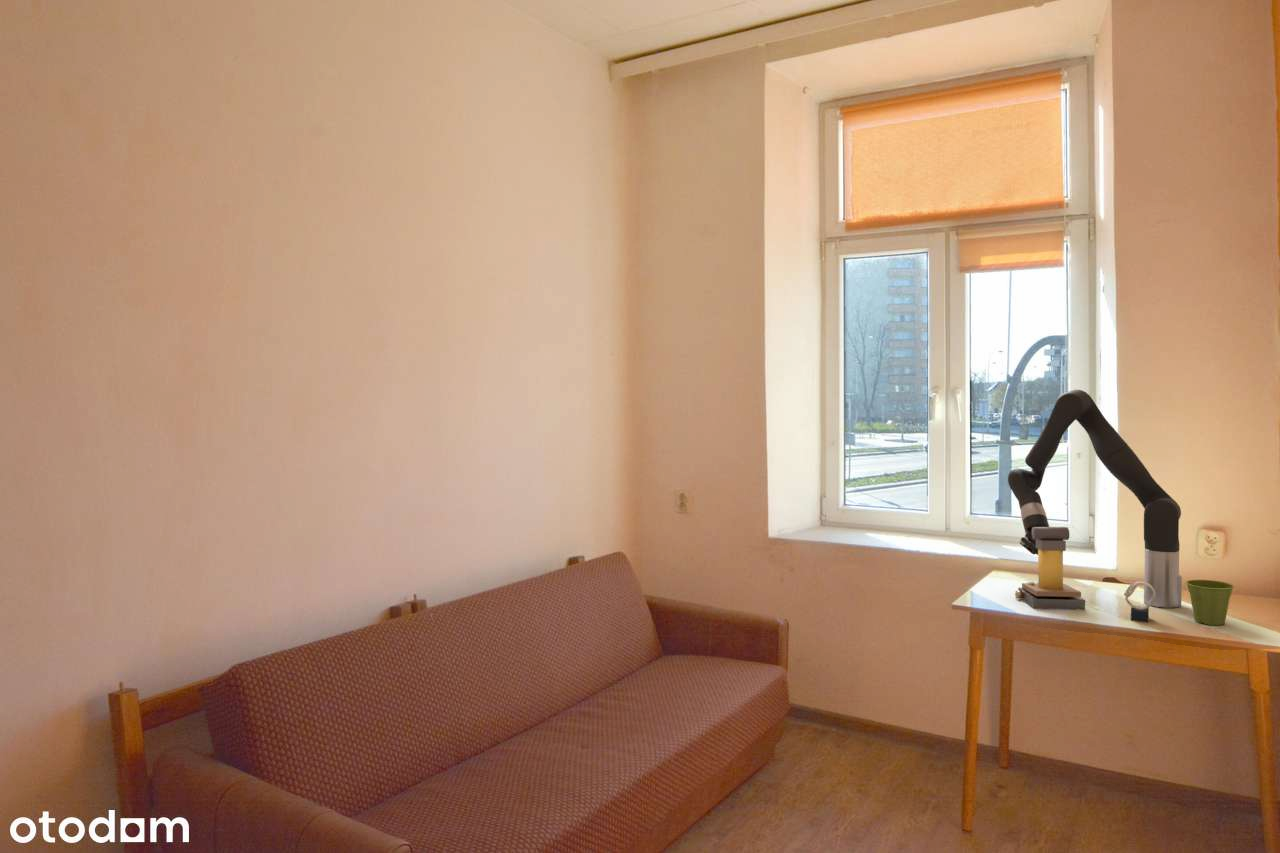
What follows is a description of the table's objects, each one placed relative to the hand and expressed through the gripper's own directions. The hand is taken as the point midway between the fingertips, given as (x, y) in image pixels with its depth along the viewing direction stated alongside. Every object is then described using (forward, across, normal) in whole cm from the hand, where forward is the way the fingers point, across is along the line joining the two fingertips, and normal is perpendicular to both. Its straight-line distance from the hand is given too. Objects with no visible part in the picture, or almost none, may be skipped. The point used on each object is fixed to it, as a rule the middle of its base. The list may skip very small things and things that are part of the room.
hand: (1046, 564), depth 273 cm
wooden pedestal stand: (+9, 0, +2) cm, 9 cm away
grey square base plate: (+11, 0, +4) cm, 12 cm away
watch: (+23, +19, -8) cm, 31 cm away
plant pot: (+24, +37, -9) cm, 45 cm away
